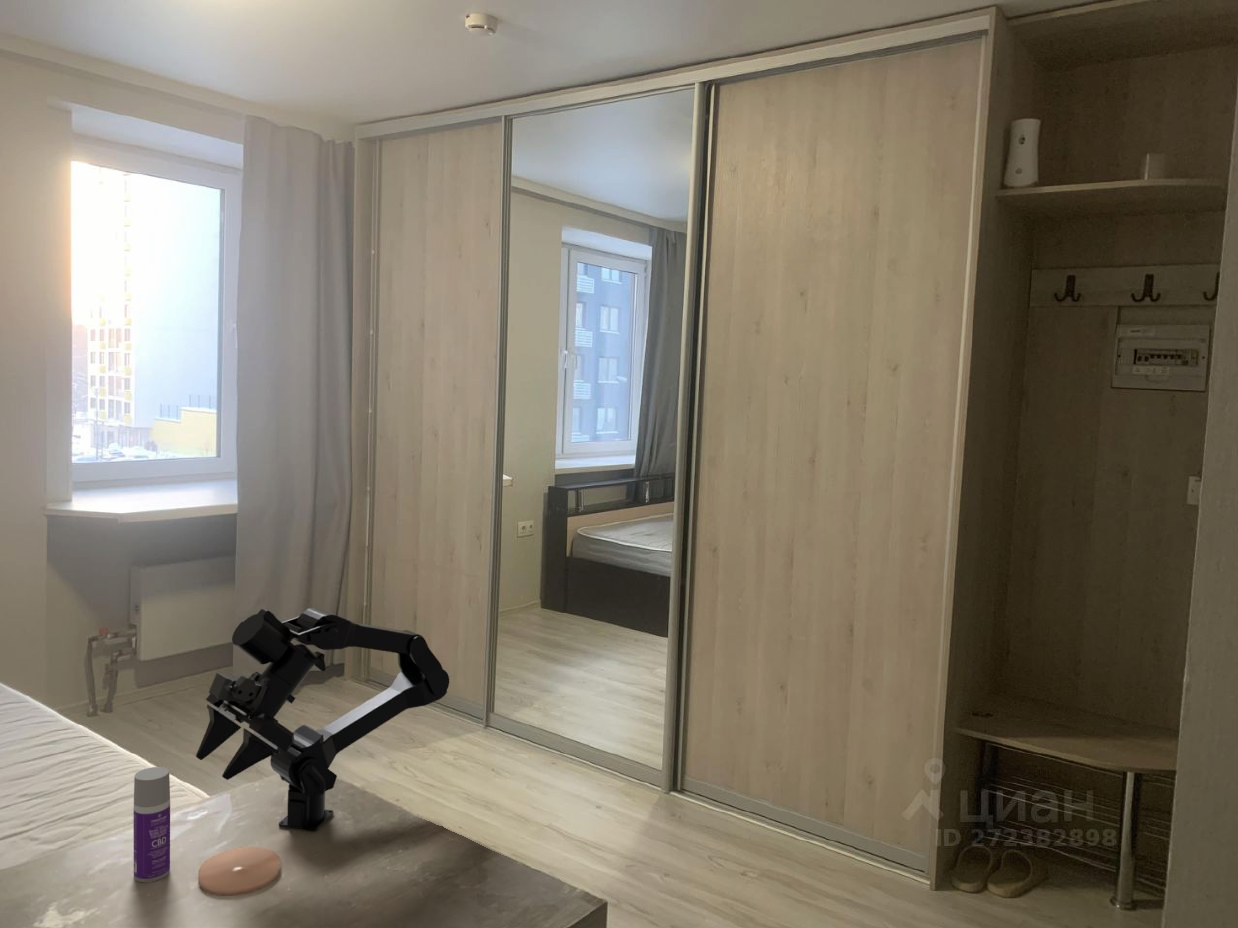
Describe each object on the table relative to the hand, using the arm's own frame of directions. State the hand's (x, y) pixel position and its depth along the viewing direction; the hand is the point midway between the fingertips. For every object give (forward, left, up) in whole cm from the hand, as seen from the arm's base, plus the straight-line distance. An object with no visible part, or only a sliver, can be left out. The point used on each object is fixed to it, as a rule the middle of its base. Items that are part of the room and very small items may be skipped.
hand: (211, 768), depth 136 cm
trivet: (+4, +7, -13) cm, 16 cm away
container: (+7, -5, -14) cm, 16 cm away
